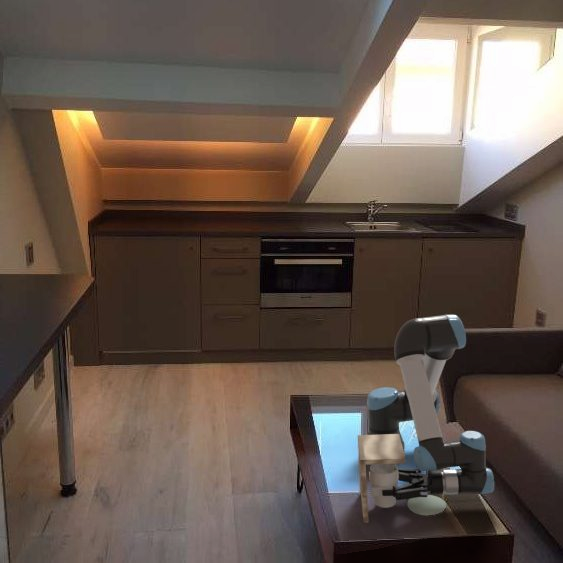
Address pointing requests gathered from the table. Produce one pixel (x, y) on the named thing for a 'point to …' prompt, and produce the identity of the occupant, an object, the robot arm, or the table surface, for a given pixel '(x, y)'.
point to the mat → (426, 505)
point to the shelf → (377, 458)
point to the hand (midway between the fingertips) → (370, 483)
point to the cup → (384, 482)
